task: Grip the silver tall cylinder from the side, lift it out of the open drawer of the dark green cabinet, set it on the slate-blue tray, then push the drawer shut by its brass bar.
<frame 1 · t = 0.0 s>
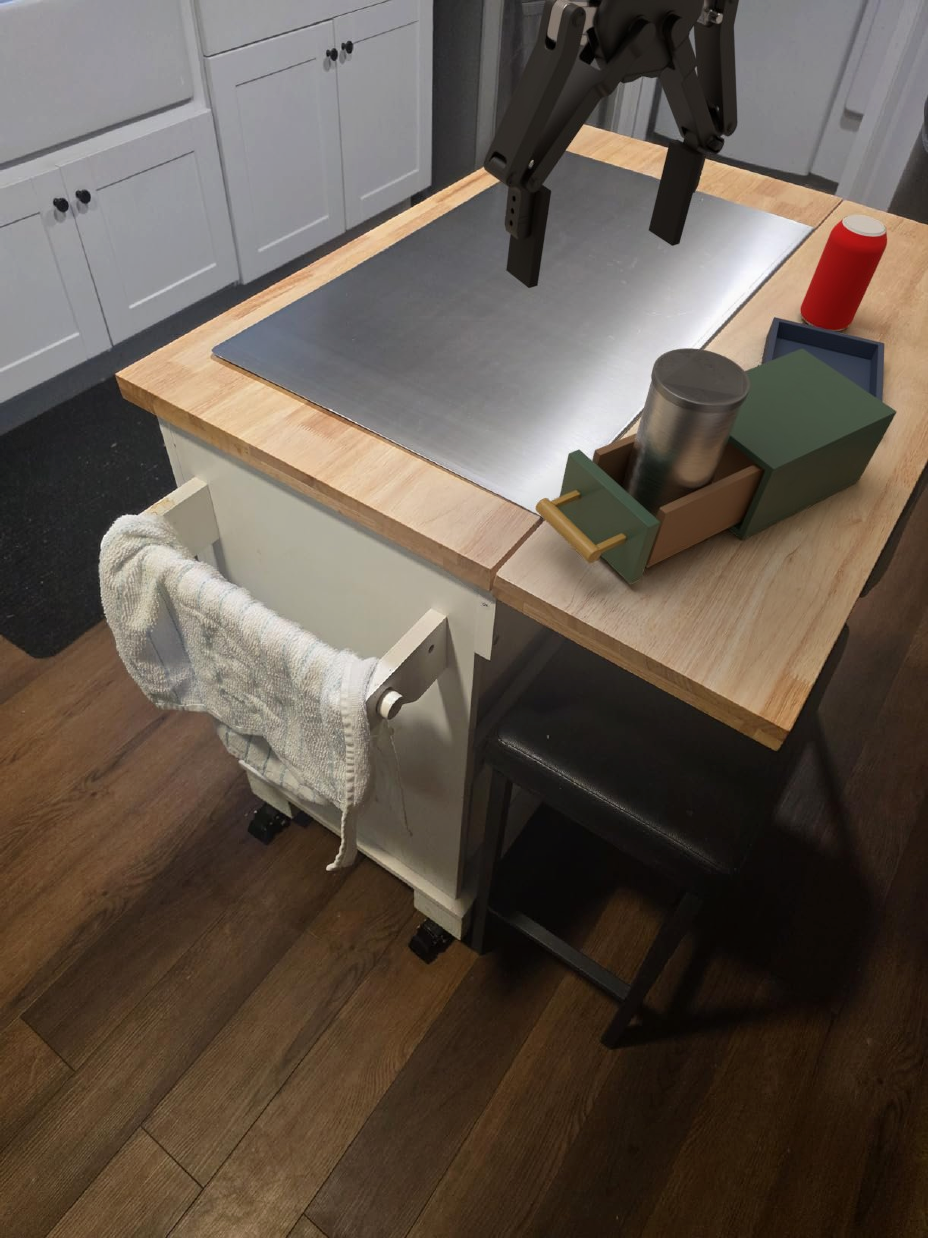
hand: (595, 257, 64), 23 cm above the kitchen island, tool pointing down, fingers open, 13 cm apart
silver tall cylinder: (657, 509, 78), point 2 cm above the kitchen island, touching drawer
drawer: (648, 496, 75), point 4 cm above the kitchen island, slide at 12.0 cm, touching silver tall cylinder
beverage can: (821, 324, 105), on the kitchen island
tray: (815, 385, 96), on the kitchen island
cabinet: (758, 475, 85), on the kitchen island
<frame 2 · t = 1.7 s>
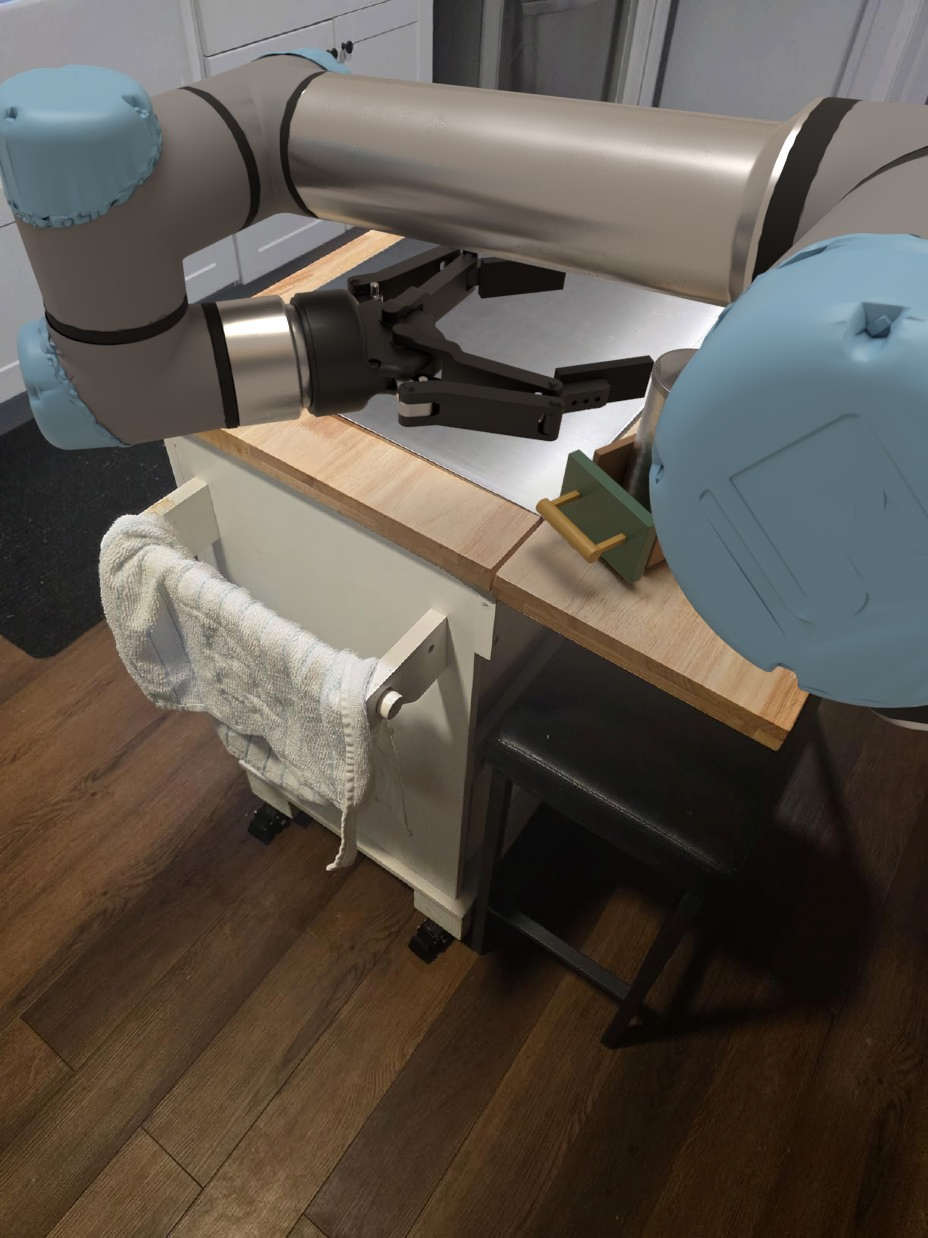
hand: (603, 319, 60), 22 cm above the kitchen island, tool horizontal, fingers open, 13 cm apart
nothing on the kitchen island moved.
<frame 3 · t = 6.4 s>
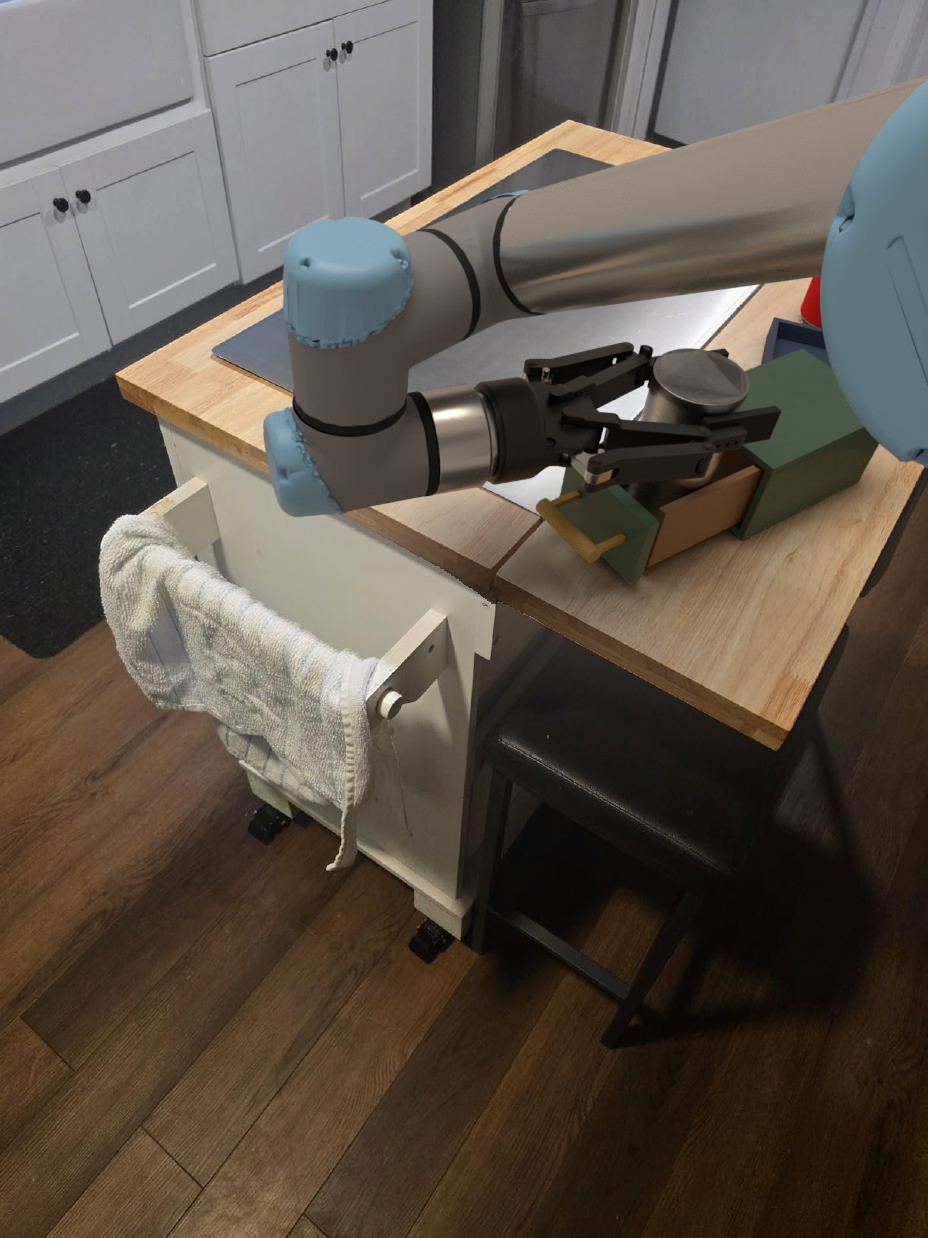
hand: (746, 392, 70), 13 cm above the kitchen island, tool horizontal, fingers closed on silver tall cylinder, 7 cm apart
silver tall cylinder: (657, 509, 78), point 2 cm above the kitchen island, touching drawer, gripper
everything else where it was.
when the fingers open (12 cm above the kitchen island, at t = 17.0 s): silver tall cylinder stays where it is, resting on tray.
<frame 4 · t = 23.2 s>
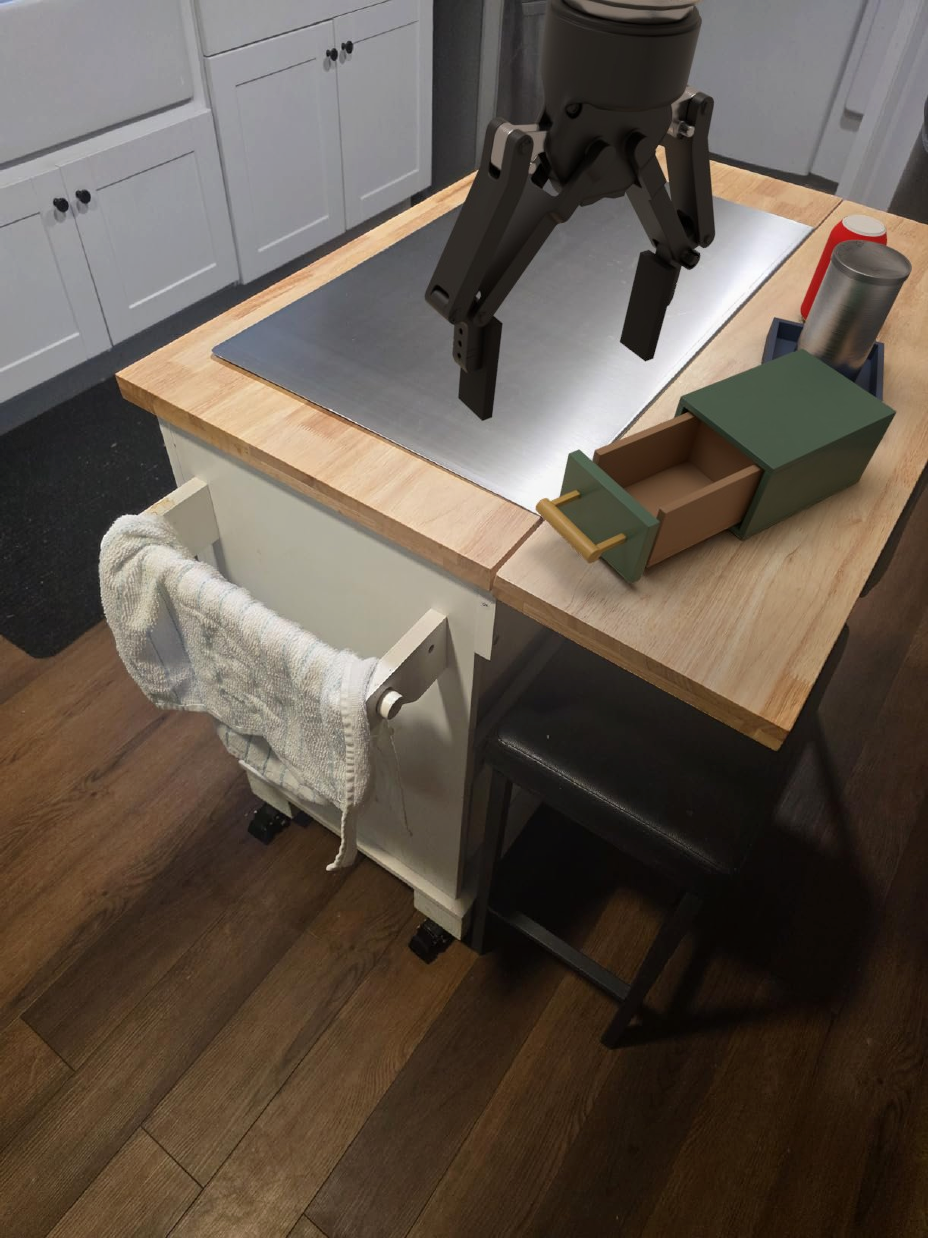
hand: (559, 378, 58), 20 cm above the kitchen island, tool pointing down, fingers open, 13 cm apart
silver tall cylinder: (817, 381, 95), point 1 cm above the kitchen island, touching tray
drawer: (648, 496, 75), point 4 cm above the kitchen island, slide at 12.0 cm
everything else where it was.
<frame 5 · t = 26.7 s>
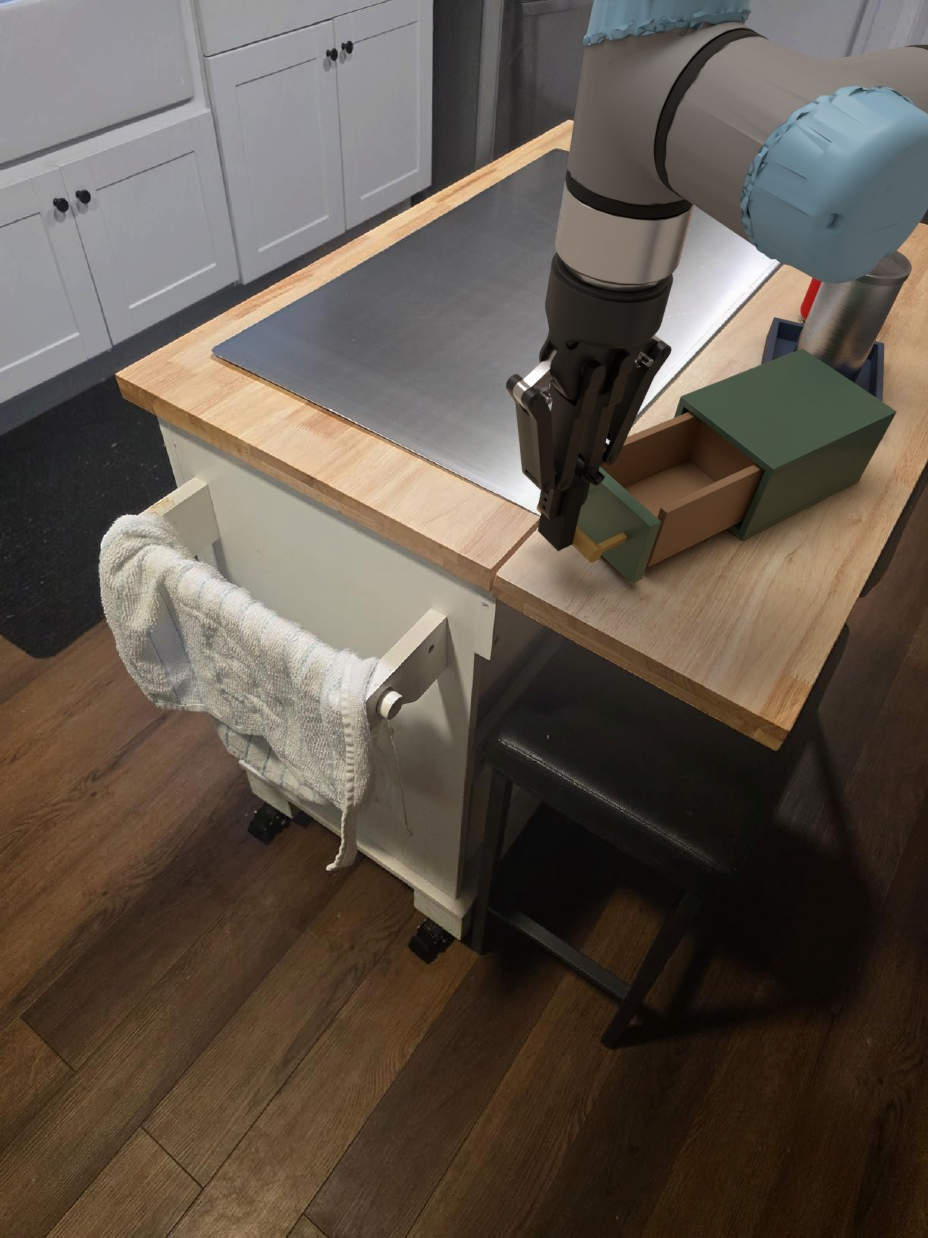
hand: (554, 537, 71), 4 cm above the kitchen island, tool pointing down, fingers closed
drawer: (649, 496, 75), point 4 cm above the kitchen island, slide at 11.9 cm, touching gripper
everything else where it was.
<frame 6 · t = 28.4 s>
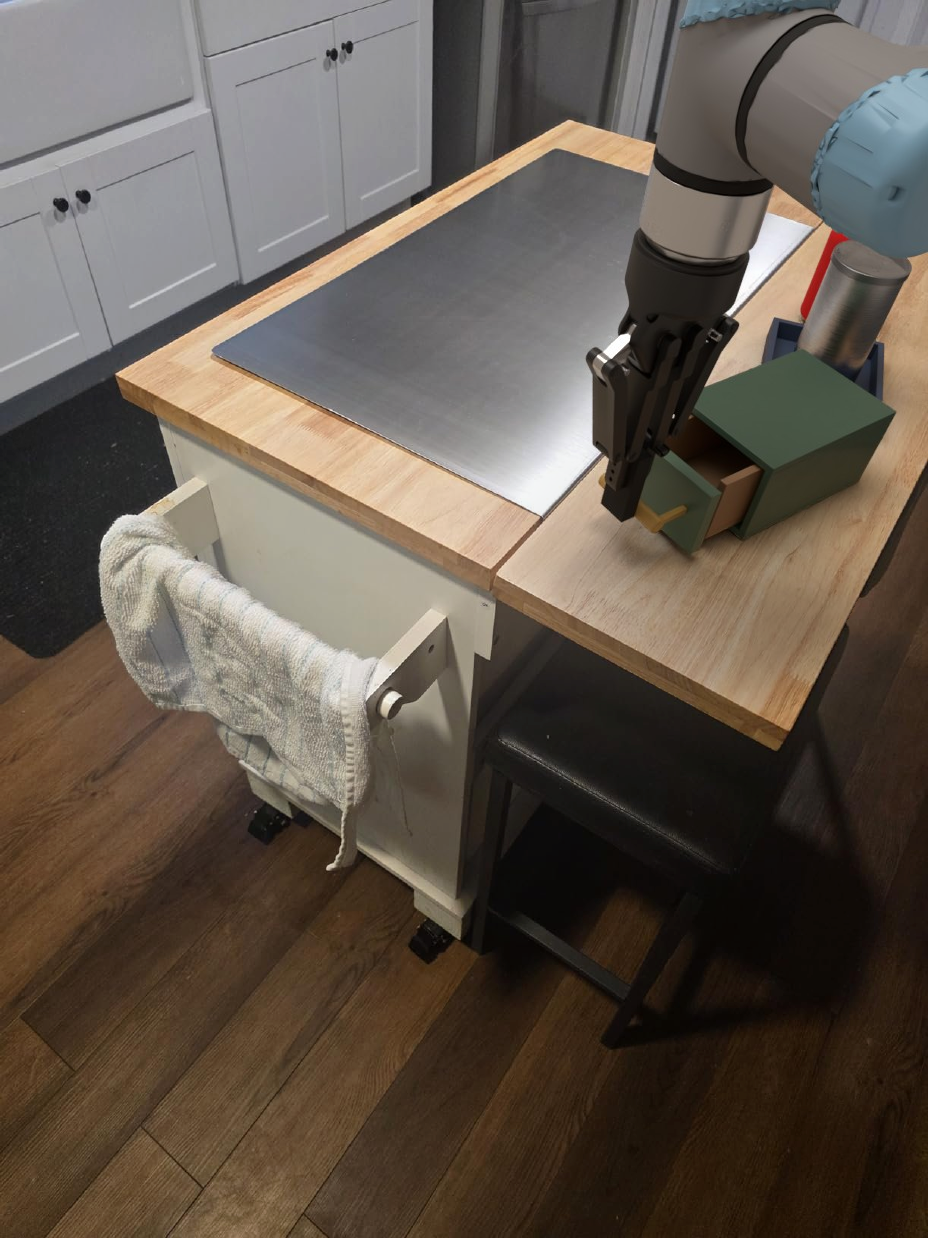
hand: (617, 509, 74), 4 cm above the kitchen island, tool pointing down, fingers closed
drawer: (705, 471, 78), point 4 cm above the kitchen island, slide at 5.1 cm, touching gripper
everything else where it was.
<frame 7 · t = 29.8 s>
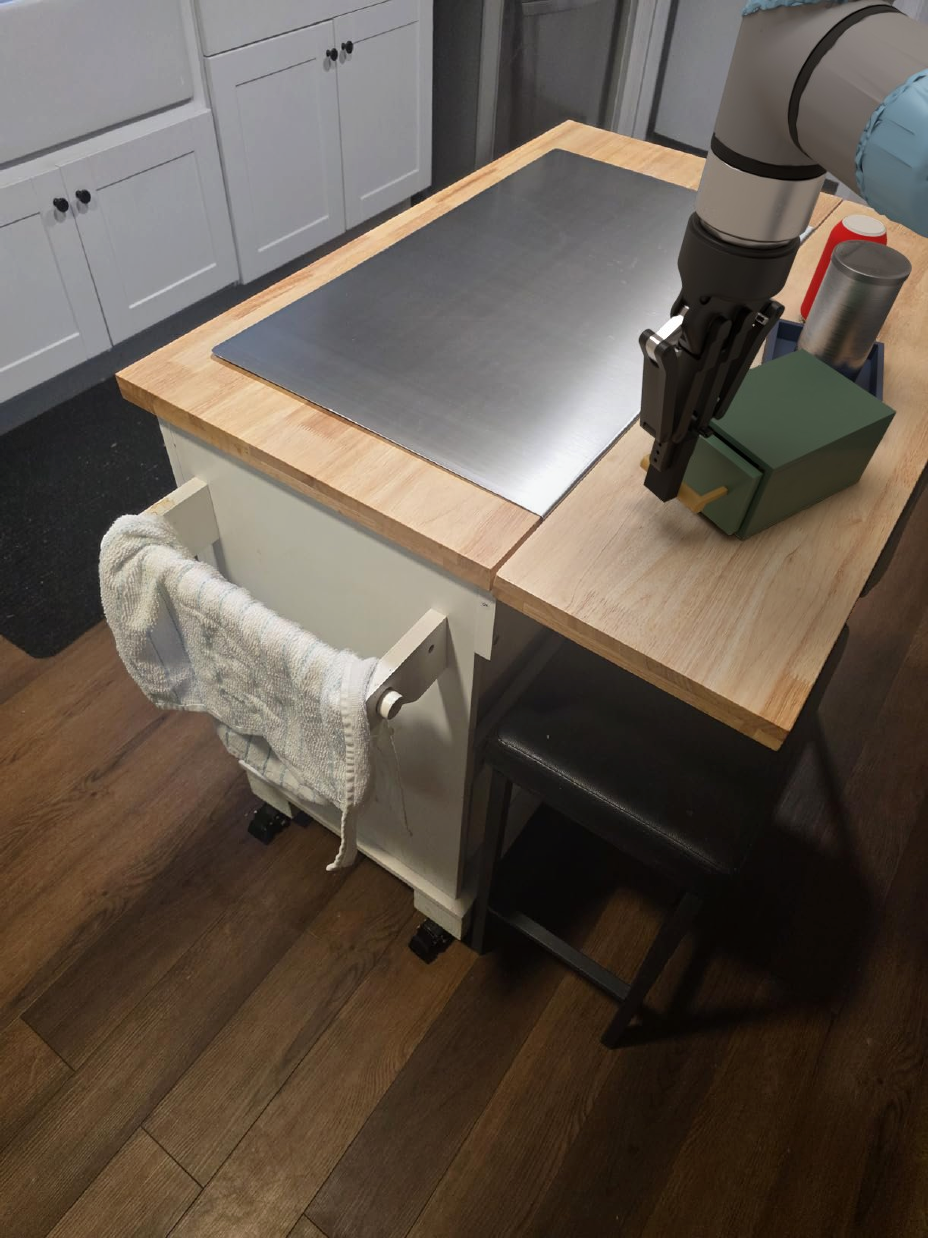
hand: (659, 490, 76), 4 cm above the kitchen island, tool pointing down, fingers closed
drawer: (743, 454, 80), point 4 cm above the kitchen island, slide at 0.2 cm, touching gripper
everything else where it was.
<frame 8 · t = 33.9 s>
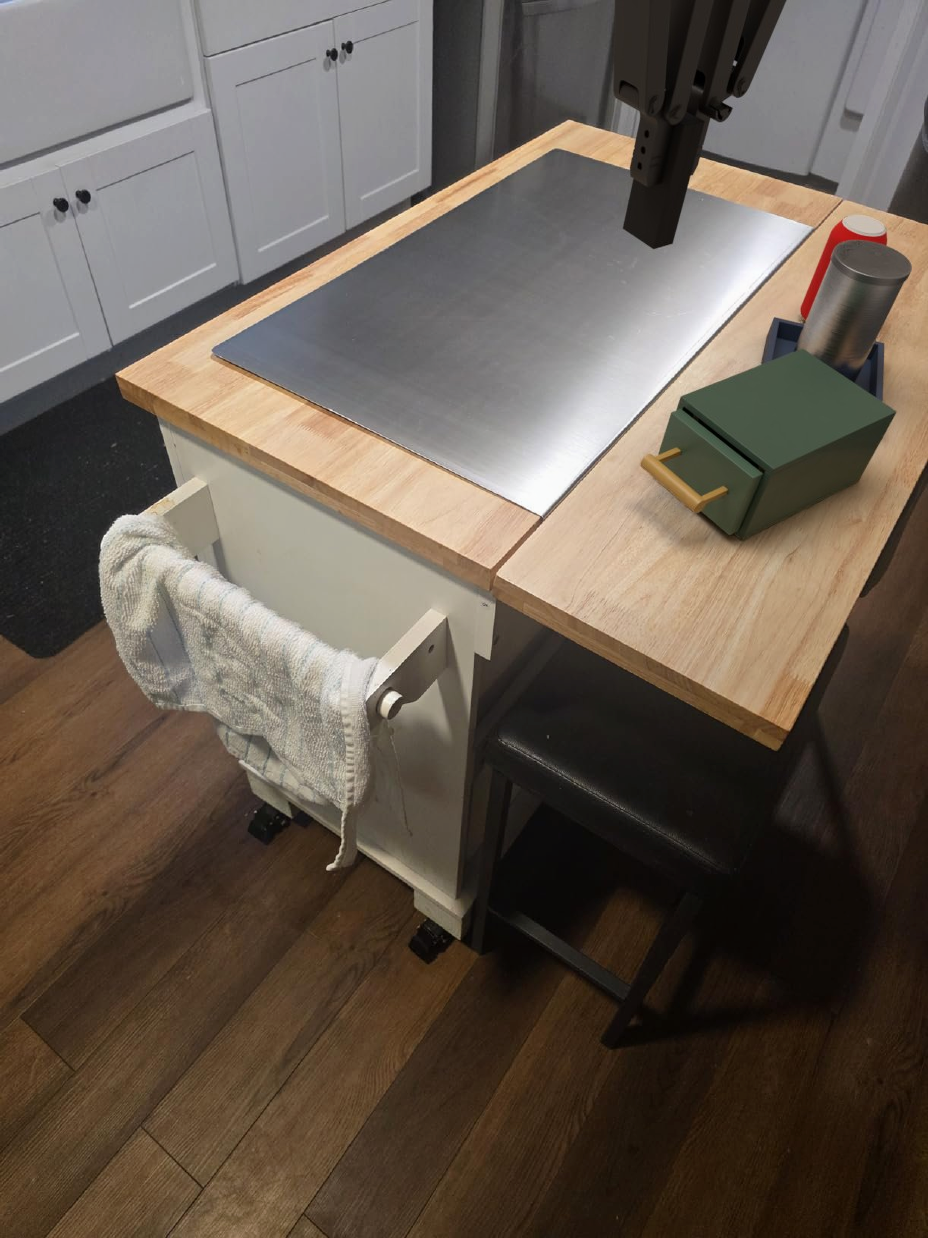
hand: (647, 235, 50), 30 cm above the kitchen island, tool pointing down, fingers closed
drawer: (743, 454, 80), point 4 cm above the kitchen island, slide at 0.2 cm
everything else where it was.
at the end: silver tall cylinder inside the target area in the tray (0.0 cm from its centre), point 0.6 cm above the tray's base; silver tall cylinder tilted 0°; drawer slide at 0.2 cm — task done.
